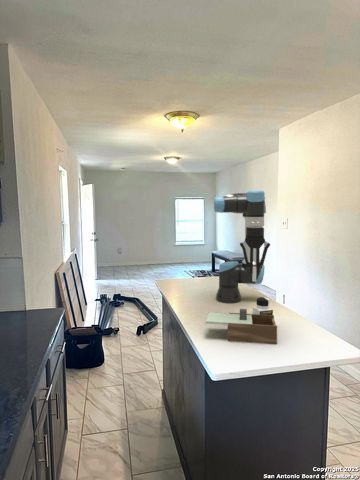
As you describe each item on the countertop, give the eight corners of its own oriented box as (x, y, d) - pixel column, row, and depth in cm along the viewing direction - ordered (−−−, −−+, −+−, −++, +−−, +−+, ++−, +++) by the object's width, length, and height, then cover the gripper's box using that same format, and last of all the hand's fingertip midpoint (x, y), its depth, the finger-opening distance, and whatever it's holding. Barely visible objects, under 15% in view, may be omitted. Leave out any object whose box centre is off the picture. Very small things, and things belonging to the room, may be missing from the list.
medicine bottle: (259, 325, 154) (260, 300, 153) (252, 320, 161) (252, 296, 160) (272, 323, 156) (273, 299, 155) (265, 318, 163) (265, 295, 162)
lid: (208, 314, 150) (208, 304, 149) (251, 316, 146) (251, 306, 146) (205, 323, 138) (205, 312, 138) (252, 326, 135) (252, 314, 134)
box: (228, 328, 150) (229, 312, 149) (273, 331, 146) (273, 315, 145) (227, 340, 136) (227, 323, 135) (276, 344, 132) (277, 326, 132)
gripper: (239, 227, 135) (239, 282, 137) (271, 227, 133) (270, 283, 135) (239, 226, 142) (239, 278, 145) (269, 226, 140) (268, 279, 143)
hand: (254, 280), depth 140 cm, fingers closed
